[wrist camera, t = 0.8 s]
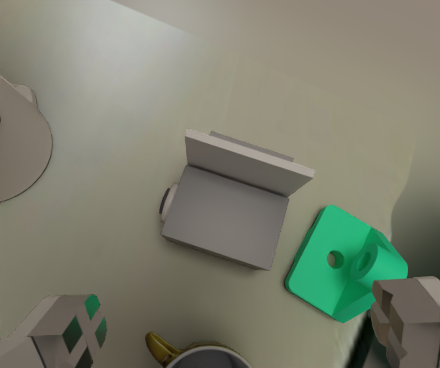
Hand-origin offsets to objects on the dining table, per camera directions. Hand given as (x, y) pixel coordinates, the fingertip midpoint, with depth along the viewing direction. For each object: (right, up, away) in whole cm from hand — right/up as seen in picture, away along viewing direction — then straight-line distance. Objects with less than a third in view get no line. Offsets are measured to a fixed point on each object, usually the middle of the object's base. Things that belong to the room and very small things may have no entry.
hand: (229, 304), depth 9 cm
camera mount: (+14, -6, +31) cm, 34 cm away
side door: (+1, +3, +31) cm, 31 cm away
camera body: (0, -2, +30) cm, 30 cm away
